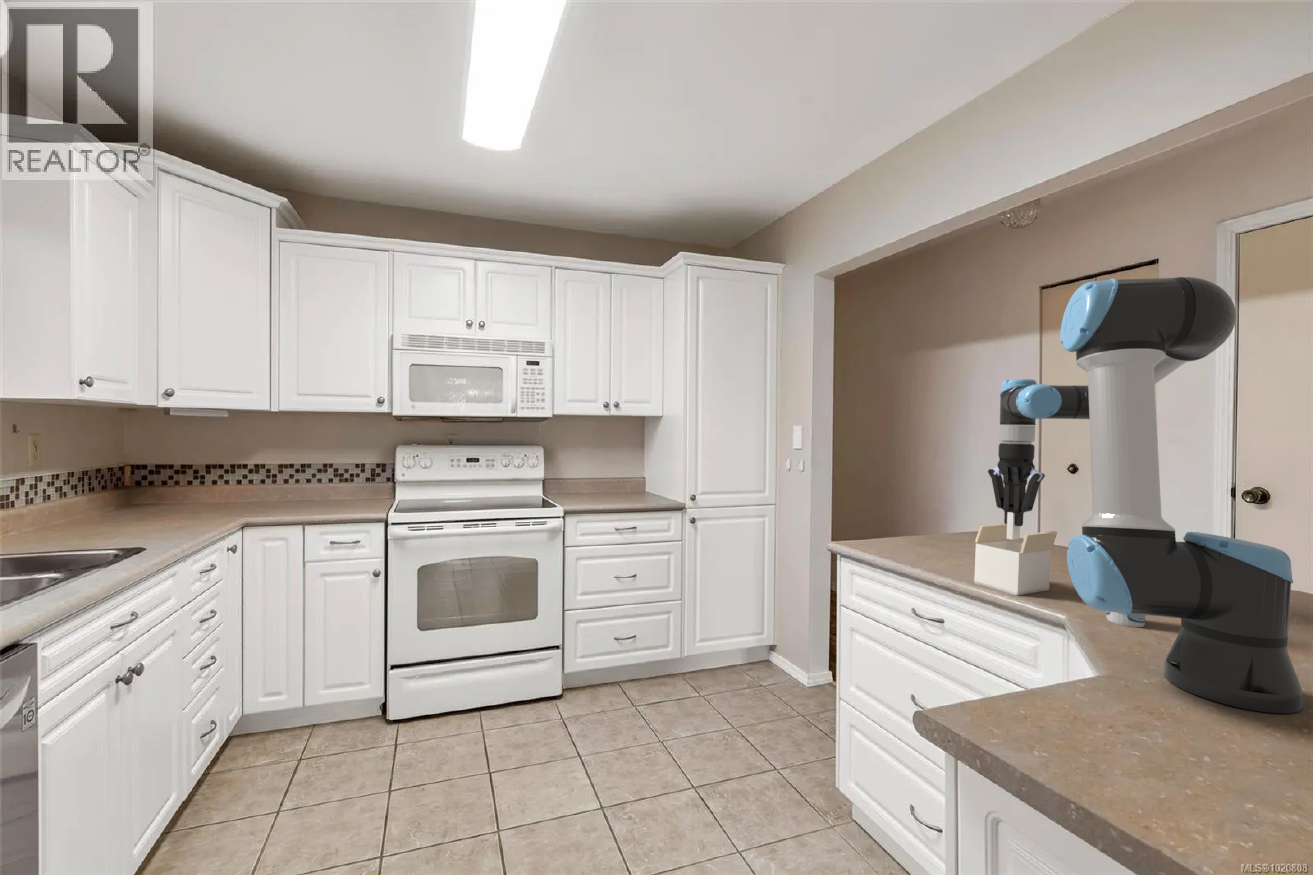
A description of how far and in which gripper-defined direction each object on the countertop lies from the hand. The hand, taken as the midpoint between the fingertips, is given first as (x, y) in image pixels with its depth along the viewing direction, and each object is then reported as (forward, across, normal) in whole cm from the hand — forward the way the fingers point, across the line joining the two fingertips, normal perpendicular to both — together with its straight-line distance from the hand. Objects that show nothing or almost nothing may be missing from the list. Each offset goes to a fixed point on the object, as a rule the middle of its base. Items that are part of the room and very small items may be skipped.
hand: (1012, 538), depth 145 cm
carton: (+12, 0, 0) cm, 12 cm away
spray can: (+12, -26, +3) cm, 29 cm away
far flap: (0, +5, 0) cm, 5 cm away
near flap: (0, -6, 0) cm, 6 cm away
